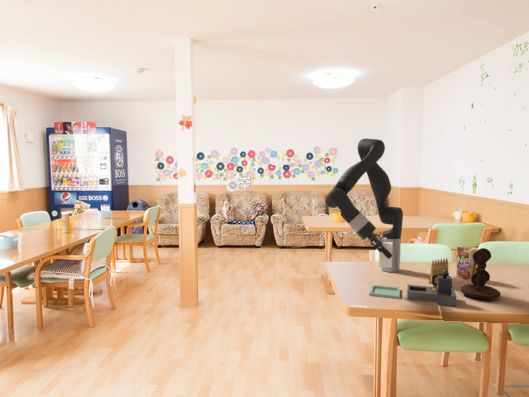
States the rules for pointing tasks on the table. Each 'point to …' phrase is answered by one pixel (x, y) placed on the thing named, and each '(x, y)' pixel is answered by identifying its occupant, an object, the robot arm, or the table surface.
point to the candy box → (465, 262)
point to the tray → (385, 291)
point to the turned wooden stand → (480, 278)
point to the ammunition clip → (437, 270)
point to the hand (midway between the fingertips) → (390, 255)
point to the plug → (382, 258)
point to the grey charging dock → (435, 291)
